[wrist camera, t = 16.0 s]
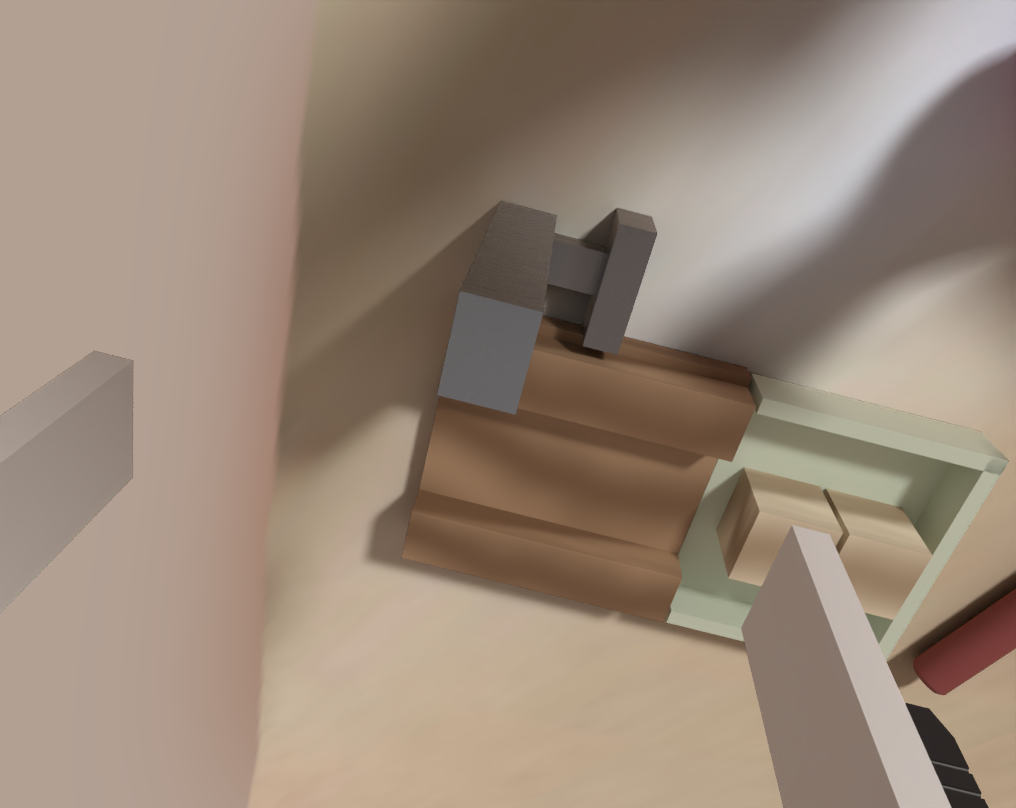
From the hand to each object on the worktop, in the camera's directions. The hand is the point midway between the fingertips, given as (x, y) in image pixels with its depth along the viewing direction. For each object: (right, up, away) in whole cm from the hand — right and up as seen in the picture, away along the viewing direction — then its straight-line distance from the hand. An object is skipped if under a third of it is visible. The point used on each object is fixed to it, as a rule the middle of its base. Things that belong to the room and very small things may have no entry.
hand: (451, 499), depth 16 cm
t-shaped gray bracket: (+4, +9, +21) cm, 23 cm away
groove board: (+4, -1, +25) cm, 25 cm away
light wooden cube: (+19, -5, +25) cm, 32 cm away
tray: (+17, -4, +25) cm, 31 cm away
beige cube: (+14, -3, +25) cm, 29 cm away
